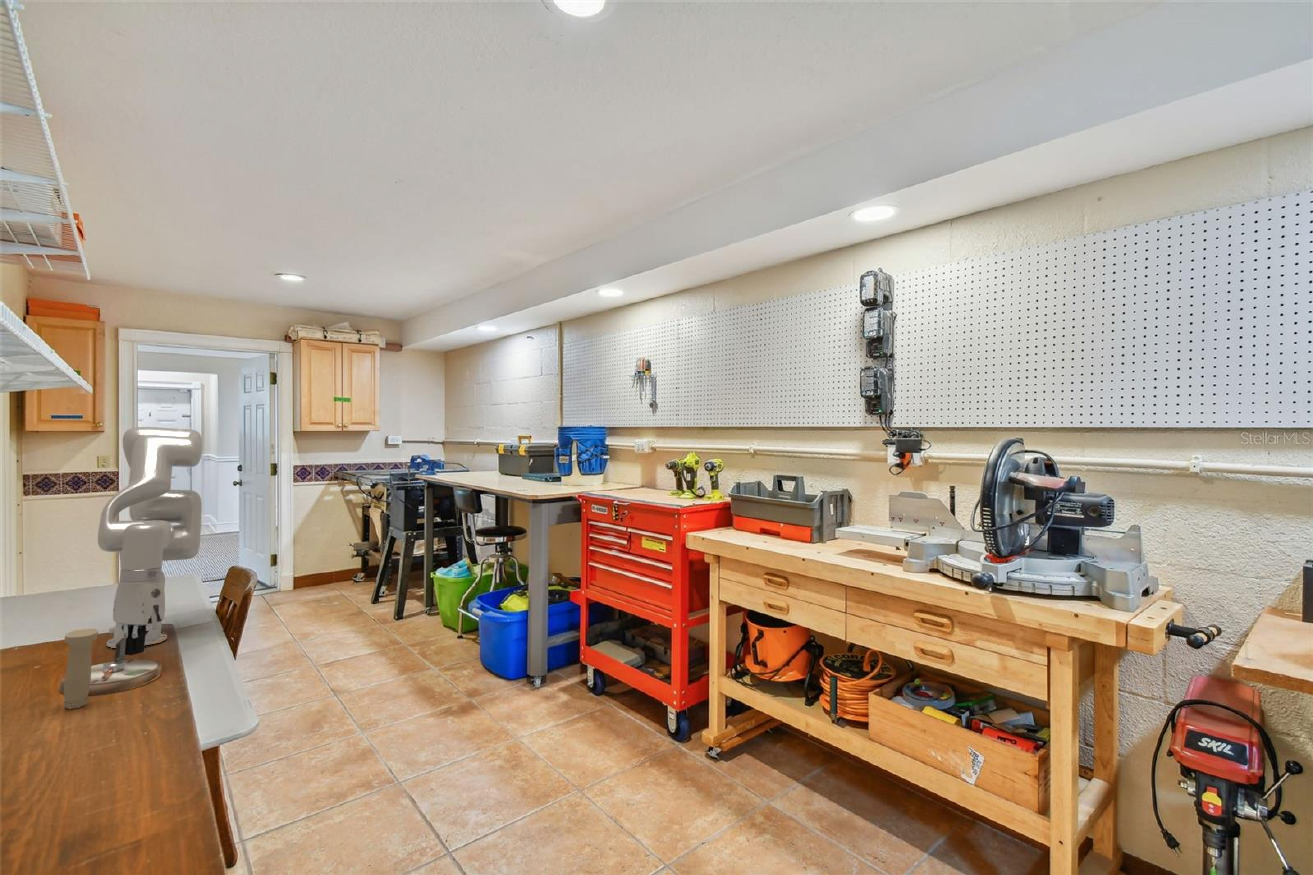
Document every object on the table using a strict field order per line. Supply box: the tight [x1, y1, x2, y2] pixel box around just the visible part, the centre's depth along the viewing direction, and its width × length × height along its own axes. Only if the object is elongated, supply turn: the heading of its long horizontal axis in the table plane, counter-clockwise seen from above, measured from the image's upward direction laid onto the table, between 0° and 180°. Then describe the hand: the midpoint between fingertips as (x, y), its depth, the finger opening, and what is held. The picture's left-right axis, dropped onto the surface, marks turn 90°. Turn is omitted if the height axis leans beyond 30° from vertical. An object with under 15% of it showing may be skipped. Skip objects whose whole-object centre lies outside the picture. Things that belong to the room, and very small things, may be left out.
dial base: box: [59, 658, 163, 697], centre depth 135 cm, size 17×17×3 cm
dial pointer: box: [102, 638, 126, 679], centre depth 135 cm, size 14×4×5 cm, turn 30°
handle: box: [63, 628, 99, 710], centre depth 121 cm, size 5×6×15 cm
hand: (134, 653), depth 140 cm, fingers closed
